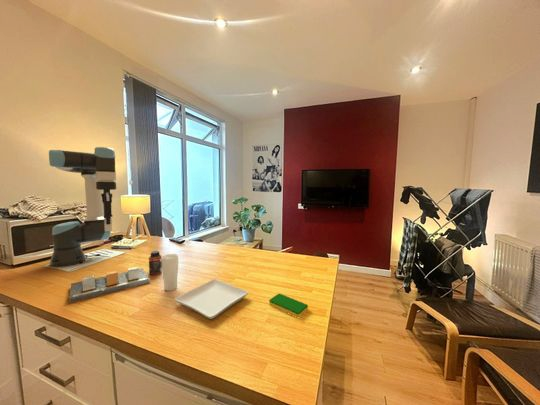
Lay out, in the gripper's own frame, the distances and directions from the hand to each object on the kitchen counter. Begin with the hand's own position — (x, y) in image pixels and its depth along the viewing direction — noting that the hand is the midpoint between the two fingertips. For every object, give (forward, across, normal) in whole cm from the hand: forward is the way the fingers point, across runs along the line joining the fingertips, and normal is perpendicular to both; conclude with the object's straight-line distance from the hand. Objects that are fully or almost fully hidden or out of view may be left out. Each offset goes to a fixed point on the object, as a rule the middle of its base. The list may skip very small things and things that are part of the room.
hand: (108, 230), depth 102 cm
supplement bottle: (+25, +4, +19) cm, 31 cm away
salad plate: (+25, +49, +30) cm, 63 cm away
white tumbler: (+25, +27, +20) cm, 42 cm away
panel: (+24, +7, 0) cm, 25 cm away
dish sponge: (+25, +71, +51) cm, 91 cm away
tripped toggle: (+22, +11, 0) cm, 25 cm away
